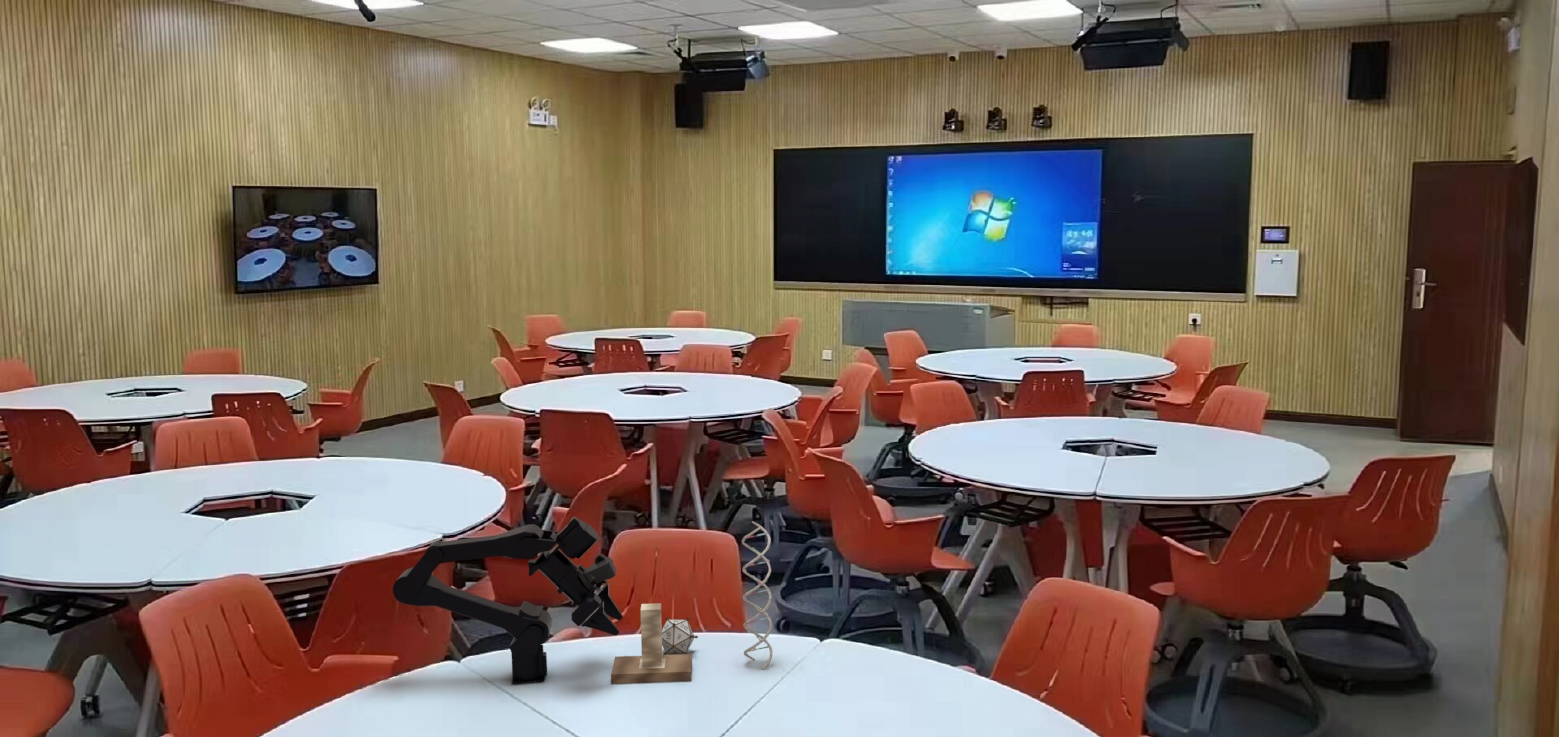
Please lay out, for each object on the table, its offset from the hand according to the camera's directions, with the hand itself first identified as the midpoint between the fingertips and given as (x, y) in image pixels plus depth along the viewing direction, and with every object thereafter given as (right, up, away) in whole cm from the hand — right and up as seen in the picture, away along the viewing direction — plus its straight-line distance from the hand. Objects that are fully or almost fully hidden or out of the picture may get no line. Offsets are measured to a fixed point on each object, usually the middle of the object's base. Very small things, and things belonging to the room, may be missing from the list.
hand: (619, 625), depth 238 cm
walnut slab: (+6, -10, +2) cm, 12 cm away
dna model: (+28, -9, +5) cm, 30 cm away
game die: (+11, -9, +12) cm, 19 cm away
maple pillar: (+6, -8, +1) cm, 10 cm away
